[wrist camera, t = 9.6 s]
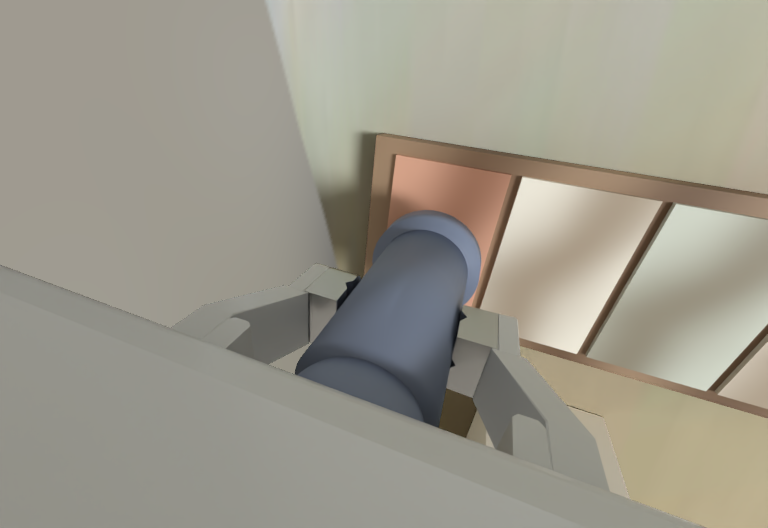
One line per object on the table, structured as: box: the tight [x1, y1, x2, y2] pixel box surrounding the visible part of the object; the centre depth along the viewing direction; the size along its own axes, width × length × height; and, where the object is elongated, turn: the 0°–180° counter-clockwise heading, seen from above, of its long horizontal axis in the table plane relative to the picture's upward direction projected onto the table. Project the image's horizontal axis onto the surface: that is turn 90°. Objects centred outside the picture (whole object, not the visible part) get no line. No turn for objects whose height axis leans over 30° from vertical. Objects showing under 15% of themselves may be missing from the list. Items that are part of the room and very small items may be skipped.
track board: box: [364, 133, 768, 418], centre depth 13 cm, size 22×8×1 cm, turn 85°
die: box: [466, 406, 630, 499], centre depth 16 cm, size 6×6×6 cm
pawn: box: [295, 210, 481, 428], centre depth 8 cm, size 4×4×9 cm
